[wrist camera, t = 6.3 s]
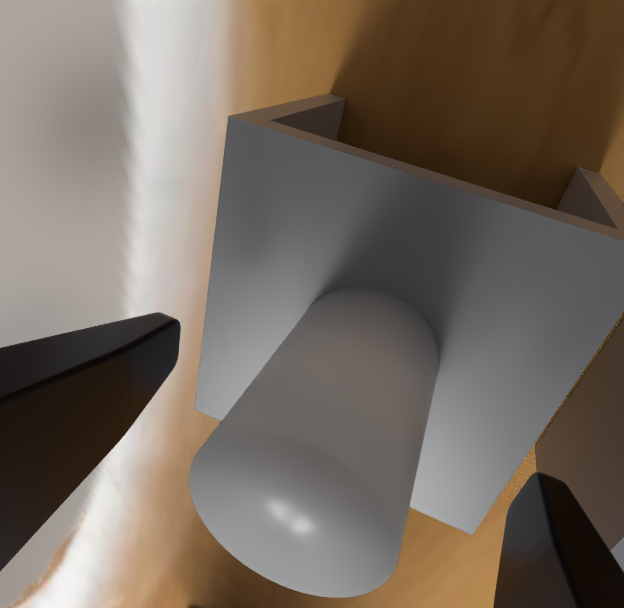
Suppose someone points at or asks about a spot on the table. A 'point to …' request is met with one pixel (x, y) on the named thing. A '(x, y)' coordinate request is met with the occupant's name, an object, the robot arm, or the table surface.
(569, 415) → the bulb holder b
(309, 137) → the hood
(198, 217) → the table surface
